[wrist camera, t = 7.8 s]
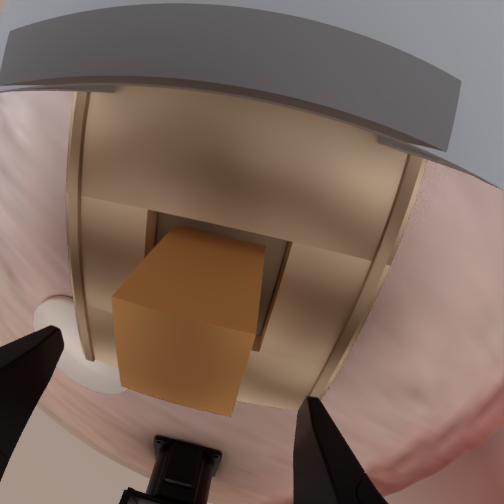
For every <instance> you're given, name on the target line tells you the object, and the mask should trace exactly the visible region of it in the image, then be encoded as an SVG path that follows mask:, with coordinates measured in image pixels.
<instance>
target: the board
mask: <svg viewBox="0 0 504 504" xmlns="http://www.w3.org/2000/svg"><path fill="white" fill-rule="evenodd" d="M380 136H381V135H378V134H375V133H372V132H369V131H366V130H363V129H360V128H357V127H354V126H351V125H348V124H345V123H342V122H338V121H335V120H332V119H328V118H325V117H321V116H318V115H314V114H310V113H307V112H303V111H299V110H295V109H291V108H286V107H282V106H278V105H273V104H269V103H264V102H259V101H254V100H249V99H243V98H238V97H232V96H226V95H219V94H213V93H205V92H198V91H189V90H180V89H170V88H158V87H143V86H119V85H115V90H114V93H99V92H80V91H75V93H74V100H73V107H72V114H71V122H70V132H69V142H68V156H67V176H66V224H67V245H68V258H69V269H70V279H71V287H72V295H73V302H74V309H75V315H76V321H77V327H78V332H79V337H80V342H81V347H82V352H83V355H85V357H86V359H87V360H89V361H92V362H94V360H95V359H96V360H98V361H101V362H103V363H106V364H109V365H111V366H114V367H117V368H118V361H117V353H116V344H115V335H114V324H113V311H112V295H113V294H114V293H115V292H116V291H117V289H118V288H119V287H120V286H121V285H122V284H123V282H124V281H125V280H126V279H127V278H128V277H129V275H130V274H131V273H132V272H133V271H134V270H135V269H136V267H137V266H138V265H139V264H140V263H141V262H142V261H143V259H144V258H145V257H146V256H147V255H148V254H149V253H150V252H151V251H152V249H153V248H154V247H155V246H156V245H157V244H158V243H159V242H160V241H161V240H162V238H163V237H164V236H165V235H166V234H167V233H168V232H169V231H170V230H171V229H172V228H173V227H174V226H175V225H177V226H181V227H186V228H190V229H195V230H199V231H204V232H208V233H212V234H217V235H221V236H226V237H230V238H235V239H239V240H243V241H248V242H252V243H256V244H261V245H265V246H266V249H265V258H264V268H263V277H262V286H261V295H260V304H259V313H258V321H257V330H256V336H255V339H254V343H253V346H252V350H251V353H250V356H249V360H248V363H247V366H246V369H245V373H244V376H243V379H242V382H241V386H240V389H239V392H238V395H237V399H236V401H240V402H245V403H251V404H256V405H262V406H268V407H274V408H281V409H288V410H295V411H298V410H299V408H300V406H301V405H302V403H303V401H304V399H305V398H306V397H307V396H312V397H318V398H319V399H320V401H321V399H322V398H323V396H324V395H325V393H326V391H327V390H328V388H329V386H330V385H331V383H332V381H333V380H334V378H335V376H336V374H337V373H338V371H339V369H340V367H341V366H342V364H343V362H344V360H345V359H346V357H347V355H348V353H349V351H350V349H351V347H352V346H353V344H354V342H355V340H356V338H357V336H358V334H359V332H360V330H361V328H362V326H363V324H364V322H365V320H366V318H367V316H368V314H369V312H370V310H371V308H372V306H373V304H374V302H375V299H376V297H377V295H378V293H379V291H380V289H381V286H382V284H383V282H384V280H385V277H386V275H387V273H388V270H389V268H390V266H391V263H392V261H393V258H394V256H395V253H396V251H397V248H398V246H399V243H400V241H401V238H402V235H403V233H404V230H405V227H406V225H407V222H408V219H409V216H410V214H411V211H412V208H413V205H414V202H415V199H416V196H417V193H418V190H419V186H420V183H421V180H422V177H423V173H424V170H425V167H426V163H427V159H424V158H421V157H418V156H414V155H411V154H408V153H404V152H401V151H398V150H395V149H393V148H390V147H387V146H385V145H382V144H379V140H380ZM287 242H288V244H287ZM286 246H287V248H286ZM285 249H286V251H285ZM284 253H285V255H284ZM283 256H284V258H283ZM282 260H283V262H282ZM281 263H282V265H281ZM280 267H281V269H280ZM279 270H280V272H279ZM278 274H279V276H278ZM277 277H278V279H277ZM276 281H277V282H276ZM275 284H276V286H275ZM274 288H275V289H274ZM273 291H274V293H273ZM272 294H273V296H272ZM271 298H272V299H271ZM270 301H271V303H270ZM269 305H270V306H269ZM268 308H269V309H268ZM267 311H268V313H267ZM266 315H267V316H266ZM265 318H266V319H265ZM264 321H265V323H264ZM263 324H264V326H263ZM262 328H263V329H262ZM261 331H262V333H261Z"/></svg>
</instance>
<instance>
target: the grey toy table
mask: <svg viewBox="0 0 504 504" xmlns="http://www.w3.org/2000/svg"><path fill="white" fill-rule="evenodd" d="M115 85H119V86H143V87H158V88H170V89H180V90H189V91H198V92H205V93H213V94H219V95H226V96H232V97H238V98H243V99H249V100H254V101H259V102H264V103H269V104H273V105H278V106H282V107H286V108H291V109H295V110H299V111H303V112H307V113H310V114H314V115H318V116H321V117H325V118H328V119H332V120H335V121H338V122H342V123H345V124H348V125H351V126H354V127H357V128H360V129H363V130H366V131H369V132H372V133H375V134H378V135H381V136H380V140H379V144H382V145H385V146H387V147H390V148H393V149H395V150H398V151H401V152H404V153H408V154H411V155H414V156H418V157H421V158H424V159H427V160H430V161H433V162H436V163H439V164H442V165H445V166H448V167H451V168H453V169H456V170H459V171H462V172H464V173H467V174H470V175H472V176H474V177H476V178H478V179H480V180H482V181H484V182H486V183H488V184H490V185H493V186H495V187H497V188H499V189H502V190H504V0H7V1H6V4H5V6H4V9H3V12H2V15H1V18H0V93H2V92H9V91H80V92H99V93H114V90H115Z"/></svg>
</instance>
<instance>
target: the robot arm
mask: <svg viewBox="0 0 504 504" xmlns="http://www.w3.org/2000/svg"><path fill="white" fill-rule="evenodd" d="M63 350H64V340H63V336H62V332H61V329H60V328H58V327H56V326H53V325H50V326H47V327H45V328H43V329H40V330H38V331H36V332H33V333H31V334H29V335H27V336H24V337H22V338H20V339H18V340H15V341H13V342H11V343H8V344H6V345H4V346H2V347H0V481H1V478H2V476H3V474H4V471H5V469H6V467H7V464H8V462H9V459H10V457H11V455H12V452H13V451H14V448H15V446H16V444H17V442H18V440H19V438H20V436H21V433H22V432H23V429H24V428H25V426H26V424H27V421H28V419H29V418H30V416H31V414H32V412H33V410H34V408H35V406H36V404H37V403H38V401H39V399H40V397H41V395H42V394H43V392H44V390H45V388H46V386H47V385H48V383H49V381H50V379H51V377H52V374H53V372H54V370H55V368H56V365H57V363H58V361H59V359H60V357H61V354H62V352H63ZM154 447H155V456H156V462H155V465H154V468H153V471H152V475H151V478H150V481H149V484H148V487H147V490H146V494H145V493H142V492H139V491H136V490H134V489H133V488H130V487H128V489H127V490H124V492H123V495H122V498H121V500H120V502H119V504H207V500H208V495H209V489H210V484H211V479H212V477H213V476H215V474H216V471H217V468H218V465H219V463H220V460H221V456H222V453H221V452H218V451H213V450H209V449H204V448H200V447H196V446H192V445H188V444H184V443H180V442H176V441H173V440H169V439H166V438H162V437H159V436H156V437H155V439H154ZM364 472H365V471H364V469H363V468H362V466H361V465H360V463H359V461H358V460H357V458H356V457H355V455H354V454H353V452H352V450H351V449H350V447H349V446H348V444H347V442H346V441H345V439H344V438H343V436H342V435H341V433H340V431H339V430H338V428H337V426H336V425H335V423H334V422H333V420H332V418H331V417H330V415H329V414H328V412H327V410H326V409H325V407H324V406H323V404H322V402H321V401H320V399H319V398H318V397H312V396H307V397H306V398H305V399H304V401H303V403H302V405H301V406H300V408H299V410H298V414H297V423H296V432H295V441H294V451H293V475H294V504H388V503H387V502H386V501H385V499H384V498H383V497H382V495H381V494H380V493H379V492H378V490H377V489H376V487H375V486H374V485H373V483H372V482H371V480H370V479H369V477H368V475H367V474H366V473H364Z"/></svg>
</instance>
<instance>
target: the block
mask: <svg viewBox="0 0 504 504" xmlns="http://www.w3.org/2000/svg"><path fill="white" fill-rule="evenodd" d="M265 249H266V246H265V245H261V244H256V243H252V242H248V241H243V240H239V239H235V238H230V237H226V236H221V235H217V234H212V233H208V232H204V231H199V230H195V229H190V228H186V227H181V226H177V225H175V226H174V227H173V228H172V229H171V230H170V231H169V232H168V233H167V234H166V235H165V236H164V237H163V238H162V240H161V241H160V242H159V243H158V244H157V245H156V246H155V247H154V248H153V249H152V251H151V252H150V253H149V254H148V255H147V256H146V257H145V258H144V259H143V261H142V262H141V263H140V264H139V265H138V266H137V267H136V269H135V270H134V271H133V272H132V273H131V274H130V275H129V277H128V278H127V279H126V280H125V281H124V282H123V284H122V285H121V286H120V287H119V288H118V289H117V291H116V292H115V293H114V294H113V295H112V311H113V324H114V335H115V344H116V353H117V361H118V368H119V375H120V382H121V386H122V387H125V388H128V389H131V390H133V391H136V392H139V393H142V394H145V395H149V396H152V397H155V398H158V399H162V400H165V401H168V402H172V403H175V404H179V405H183V406H186V407H190V408H194V409H198V410H202V411H207V412H211V413H215V414H220V415H225V416H229V417H231V414H232V411H233V408H234V405H235V402H236V399H237V395H238V392H239V389H240V386H241V382H242V379H243V376H244V373H245V369H246V366H247V363H248V360H249V356H250V353H251V350H252V346H253V343H254V339H255V336H256V330H257V321H258V313H259V304H260V295H261V286H262V277H263V268H264V258H265Z"/></svg>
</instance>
